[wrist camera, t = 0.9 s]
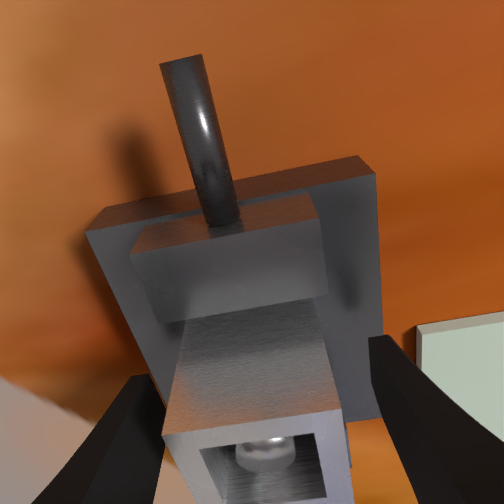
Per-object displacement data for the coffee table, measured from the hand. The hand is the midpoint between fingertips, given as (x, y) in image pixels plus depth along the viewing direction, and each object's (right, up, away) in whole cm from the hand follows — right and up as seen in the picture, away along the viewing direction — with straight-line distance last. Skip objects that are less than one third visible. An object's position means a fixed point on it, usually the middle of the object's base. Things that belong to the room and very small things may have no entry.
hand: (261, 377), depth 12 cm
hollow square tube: (0, +1, +2) cm, 2 cm away
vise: (0, +4, +2) cm, 4 cm away
